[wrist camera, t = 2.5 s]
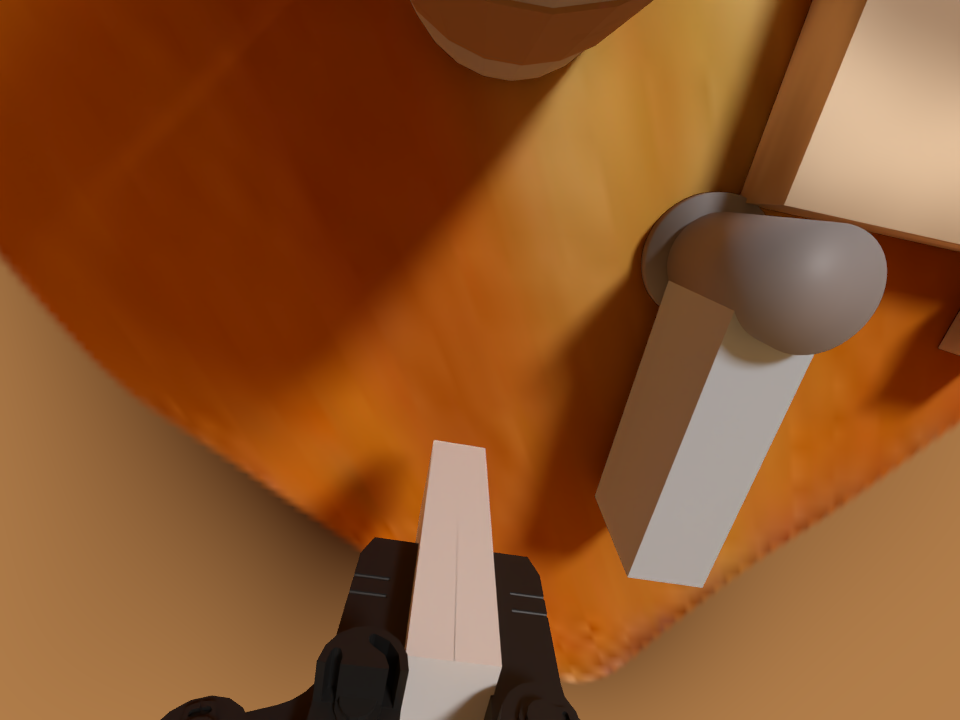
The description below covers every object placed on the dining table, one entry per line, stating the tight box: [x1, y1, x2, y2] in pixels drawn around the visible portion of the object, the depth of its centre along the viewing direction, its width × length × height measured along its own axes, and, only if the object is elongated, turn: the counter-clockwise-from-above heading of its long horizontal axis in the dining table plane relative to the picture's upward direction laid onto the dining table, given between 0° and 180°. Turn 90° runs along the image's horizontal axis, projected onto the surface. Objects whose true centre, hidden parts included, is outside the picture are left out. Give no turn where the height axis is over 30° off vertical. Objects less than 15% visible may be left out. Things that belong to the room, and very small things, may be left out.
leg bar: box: [595, 212, 887, 588], centre depth 15 cm, size 12×3×5 cm, turn 169°
